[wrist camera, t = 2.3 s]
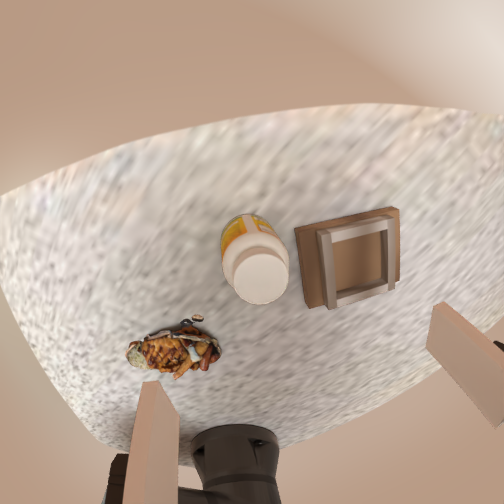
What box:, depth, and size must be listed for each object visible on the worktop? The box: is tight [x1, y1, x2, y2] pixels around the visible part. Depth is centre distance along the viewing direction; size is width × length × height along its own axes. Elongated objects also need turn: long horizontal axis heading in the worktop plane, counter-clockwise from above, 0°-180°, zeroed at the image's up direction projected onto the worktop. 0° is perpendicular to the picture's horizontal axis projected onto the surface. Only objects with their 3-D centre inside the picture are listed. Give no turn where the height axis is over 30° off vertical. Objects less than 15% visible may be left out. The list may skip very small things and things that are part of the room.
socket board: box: [295, 207, 400, 310], centre depth 30 cm, size 12×9×3 cm
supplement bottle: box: [221, 214, 289, 305], centre depth 25 cm, size 5×5×10 cm
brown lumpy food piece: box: [125, 315, 221, 380], centre depth 31 cm, size 7×12×4 cm, turn 113°
